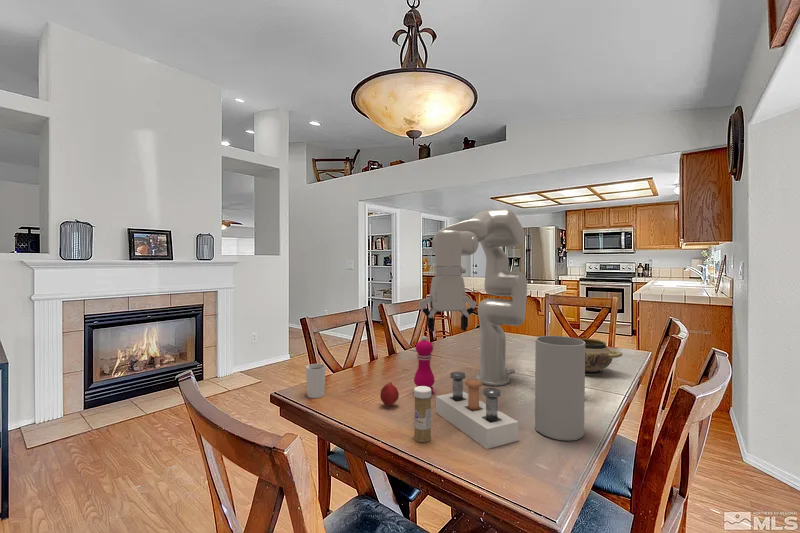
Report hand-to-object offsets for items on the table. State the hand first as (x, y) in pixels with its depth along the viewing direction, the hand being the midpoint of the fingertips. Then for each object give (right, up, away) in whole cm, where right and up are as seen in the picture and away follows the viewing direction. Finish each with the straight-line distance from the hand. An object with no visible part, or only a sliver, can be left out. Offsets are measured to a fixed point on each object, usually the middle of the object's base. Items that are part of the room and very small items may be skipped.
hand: (447, 330), depth 114 cm
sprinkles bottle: (-8, -27, -12) cm, 30 cm away
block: (+7, -26, -4) cm, 27 cm away
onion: (-17, -26, +10) cm, 33 cm away
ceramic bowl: (+64, -25, +46) cm, 82 cm away
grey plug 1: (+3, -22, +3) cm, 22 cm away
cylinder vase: (+30, -27, -8) cm, 40 cm away
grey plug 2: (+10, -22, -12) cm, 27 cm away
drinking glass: (-43, -26, +20) cm, 54 cm away
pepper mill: (-6, -26, +22) cm, 34 cm away
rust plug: (+7, -22, -4) cm, 23 cm away
